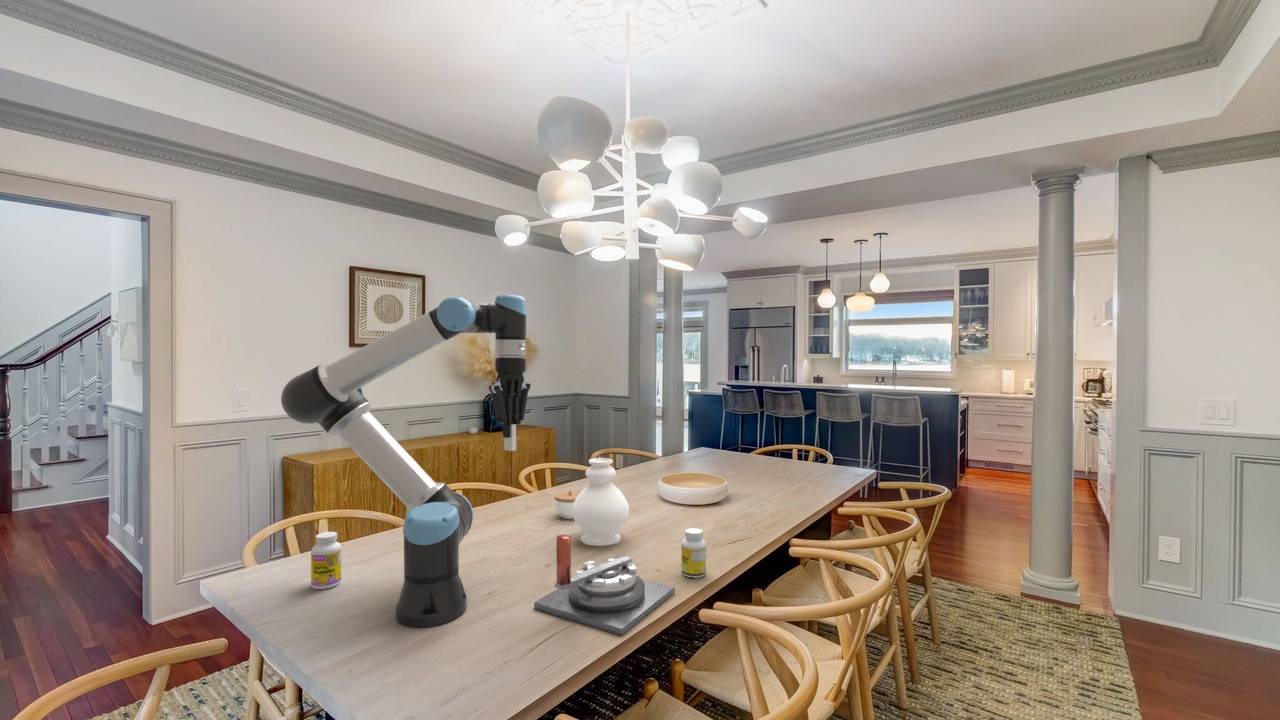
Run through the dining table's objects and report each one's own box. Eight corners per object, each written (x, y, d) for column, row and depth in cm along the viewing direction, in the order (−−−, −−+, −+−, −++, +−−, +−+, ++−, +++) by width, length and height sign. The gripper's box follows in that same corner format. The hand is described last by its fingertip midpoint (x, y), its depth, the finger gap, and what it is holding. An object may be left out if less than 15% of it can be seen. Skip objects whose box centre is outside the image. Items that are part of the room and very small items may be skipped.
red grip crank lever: (608, 567, 143) (608, 511, 143) (650, 582, 133) (650, 522, 133) (538, 594, 127) (538, 531, 126) (579, 614, 117) (579, 546, 117)
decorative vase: (635, 532, 182) (635, 456, 182) (618, 551, 165) (618, 467, 164) (584, 528, 187) (584, 453, 186) (563, 545, 170) (563, 464, 169)
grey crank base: (622, 635, 116) (622, 618, 116) (534, 608, 128) (534, 592, 128) (674, 593, 137) (674, 578, 137) (594, 573, 149) (594, 559, 149)
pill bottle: (682, 568, 152) (682, 526, 152) (706, 570, 151) (706, 527, 151) (680, 578, 146) (680, 533, 145) (705, 579, 145) (705, 535, 144)
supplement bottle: (307, 591, 137) (307, 540, 137) (315, 581, 144) (315, 531, 143) (337, 588, 139) (337, 537, 139) (344, 578, 145) (344, 529, 145)
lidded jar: (549, 519, 197) (549, 492, 197) (564, 511, 207) (564, 486, 207) (575, 522, 193) (575, 495, 192) (590, 514, 202) (590, 488, 202)
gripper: (503, 357, 133) (502, 455, 134) (539, 357, 145) (538, 447, 145) (480, 356, 137) (480, 452, 137) (517, 356, 148) (516, 445, 149)
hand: (510, 449), depth 141 cm, fingers closed
